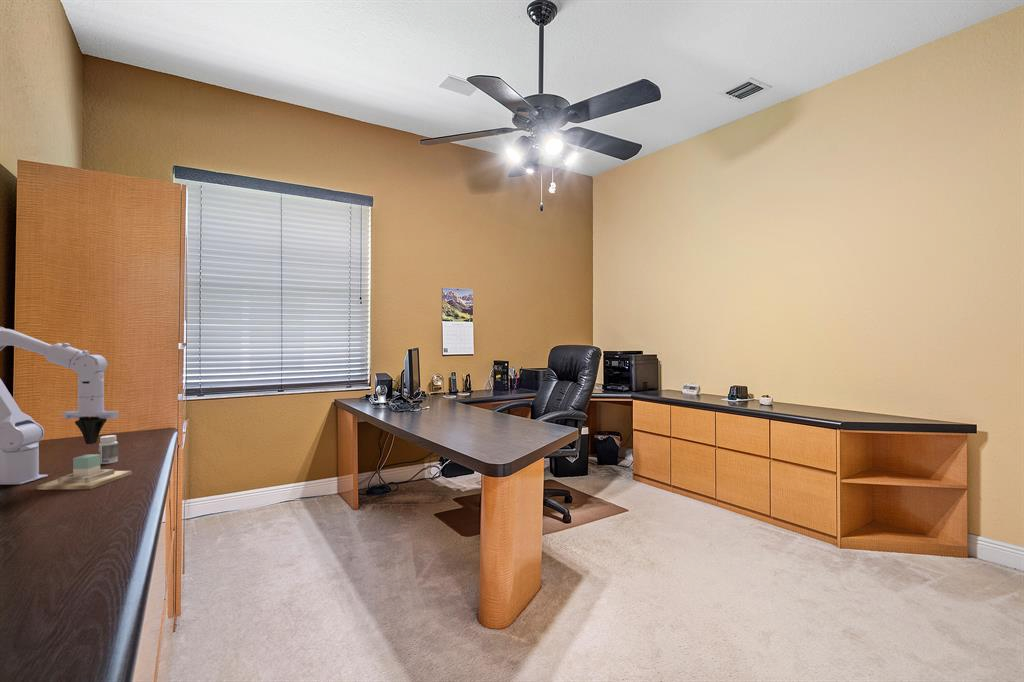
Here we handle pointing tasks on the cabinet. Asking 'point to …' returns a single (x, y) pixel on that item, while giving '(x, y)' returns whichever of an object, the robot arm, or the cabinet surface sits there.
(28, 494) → the cabinet surface
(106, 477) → the base plate
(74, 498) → the cabinet surface
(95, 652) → the cabinet surface
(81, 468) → the teal and cream block
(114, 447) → the pill bottle
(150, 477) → the cabinet surface
